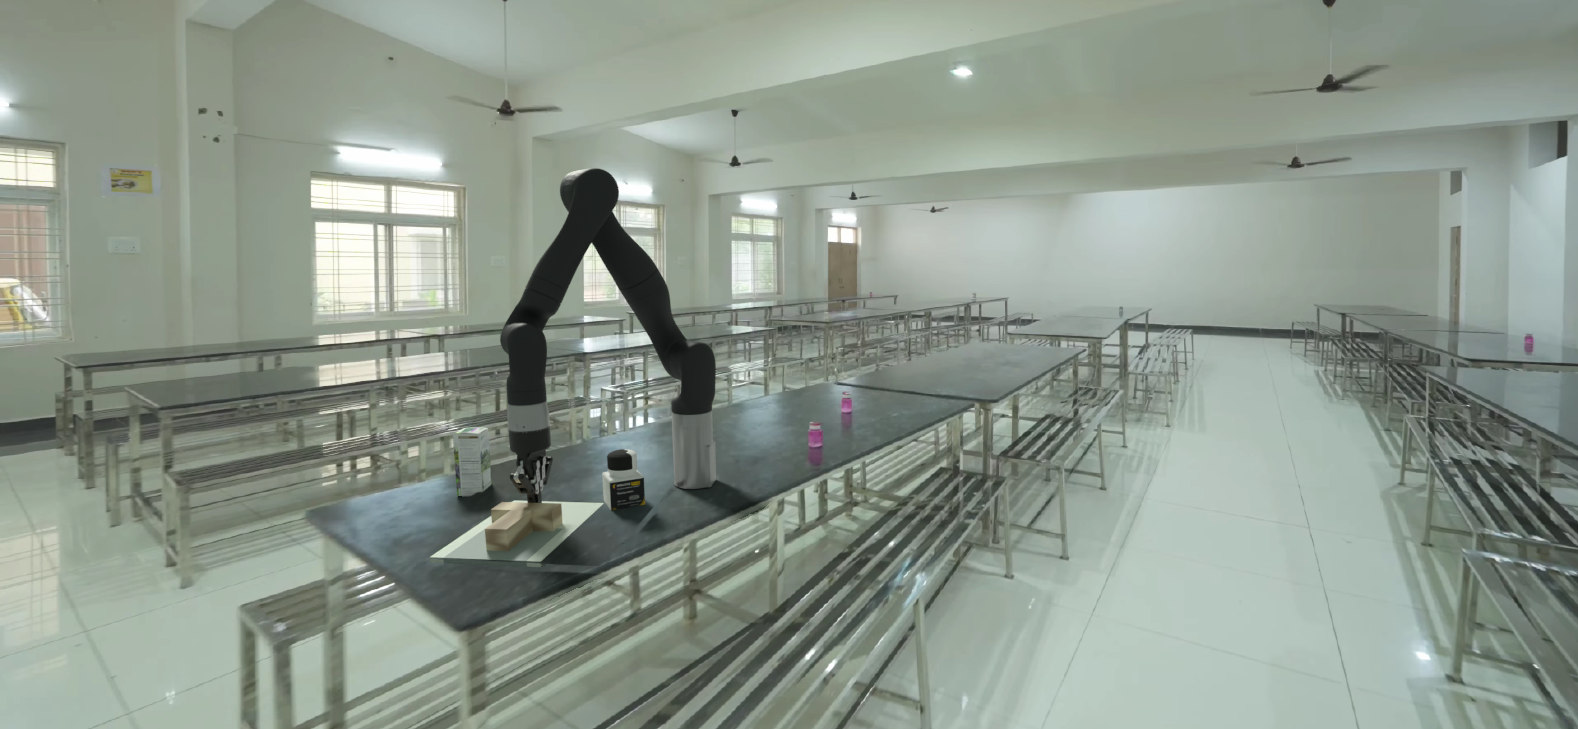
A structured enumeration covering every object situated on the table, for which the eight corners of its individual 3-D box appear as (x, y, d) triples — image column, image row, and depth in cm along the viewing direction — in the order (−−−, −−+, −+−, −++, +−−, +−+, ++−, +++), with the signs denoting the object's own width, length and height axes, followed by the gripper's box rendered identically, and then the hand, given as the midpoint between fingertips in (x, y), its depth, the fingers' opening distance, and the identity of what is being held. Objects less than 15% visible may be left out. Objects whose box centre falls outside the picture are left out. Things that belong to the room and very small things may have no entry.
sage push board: (604, 507, 140) (604, 503, 139) (541, 567, 112) (540, 561, 112) (514, 504, 142) (513, 500, 142) (430, 562, 114) (429, 557, 114)
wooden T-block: (562, 523, 129) (561, 503, 128) (530, 552, 116) (528, 530, 115) (503, 521, 130) (502, 502, 129) (464, 549, 117) (463, 528, 116)
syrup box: (466, 488, 153) (461, 427, 151) (493, 487, 153) (488, 426, 151) (456, 497, 147) (451, 433, 145) (484, 496, 148) (479, 432, 145)
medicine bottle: (611, 515, 135) (608, 458, 134) (603, 504, 142) (600, 449, 140) (645, 509, 139) (643, 453, 137) (636, 498, 145) (634, 445, 143)
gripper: (530, 434, 121) (537, 524, 124) (563, 417, 134) (568, 499, 137) (491, 433, 122) (499, 523, 125) (527, 417, 135) (533, 498, 138)
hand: (535, 510), depth 131 cm, fingers closed
